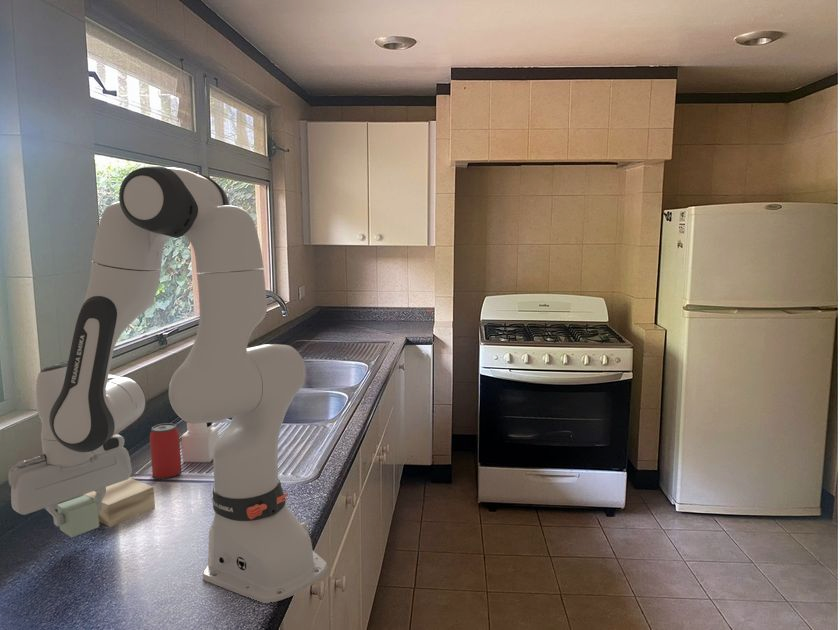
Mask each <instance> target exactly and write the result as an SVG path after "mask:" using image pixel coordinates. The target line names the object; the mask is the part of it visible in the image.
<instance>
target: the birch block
mask: <svg viewBox="0 0 840 630" xmlns="http://www.w3.org/2000/svg"><path fill="white" fill-rule="evenodd" d="M84 495H85V496H87V497H89V498H91V499H93V500H94V498H95V495H96V492H95V491H92V492H90V493H87V494H84ZM84 495H81V496H84ZM155 502H156V501H155V490H154V486H152V485H149V484H147V483H145V482H142V481H139V480H136V479H134V478H132V477H129V479H127V480H124V481H122V482H119V483H116V484H113V485H110V486H107V487H106V493H105V496H104V498H103V500H102V502H101V507H102V510H100V511H98V518H99V523H101V524H104V525H106V527H110V528H112V527H114V526H117V525H119V524H121V523H123V522H126V521H128V520H129V519H132V518H135V517H136V516H137V517H138V516H139V515H141V514H143V513H146V512H148V511H150V510H152V509H155V508H156V503H155Z"/></svg>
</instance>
